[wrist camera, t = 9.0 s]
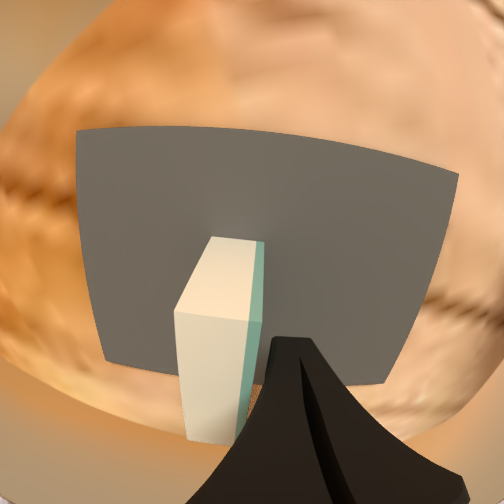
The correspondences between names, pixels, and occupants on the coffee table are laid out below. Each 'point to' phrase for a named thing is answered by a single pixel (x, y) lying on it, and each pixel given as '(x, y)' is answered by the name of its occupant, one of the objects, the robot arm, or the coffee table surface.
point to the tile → (220, 338)
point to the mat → (259, 238)
